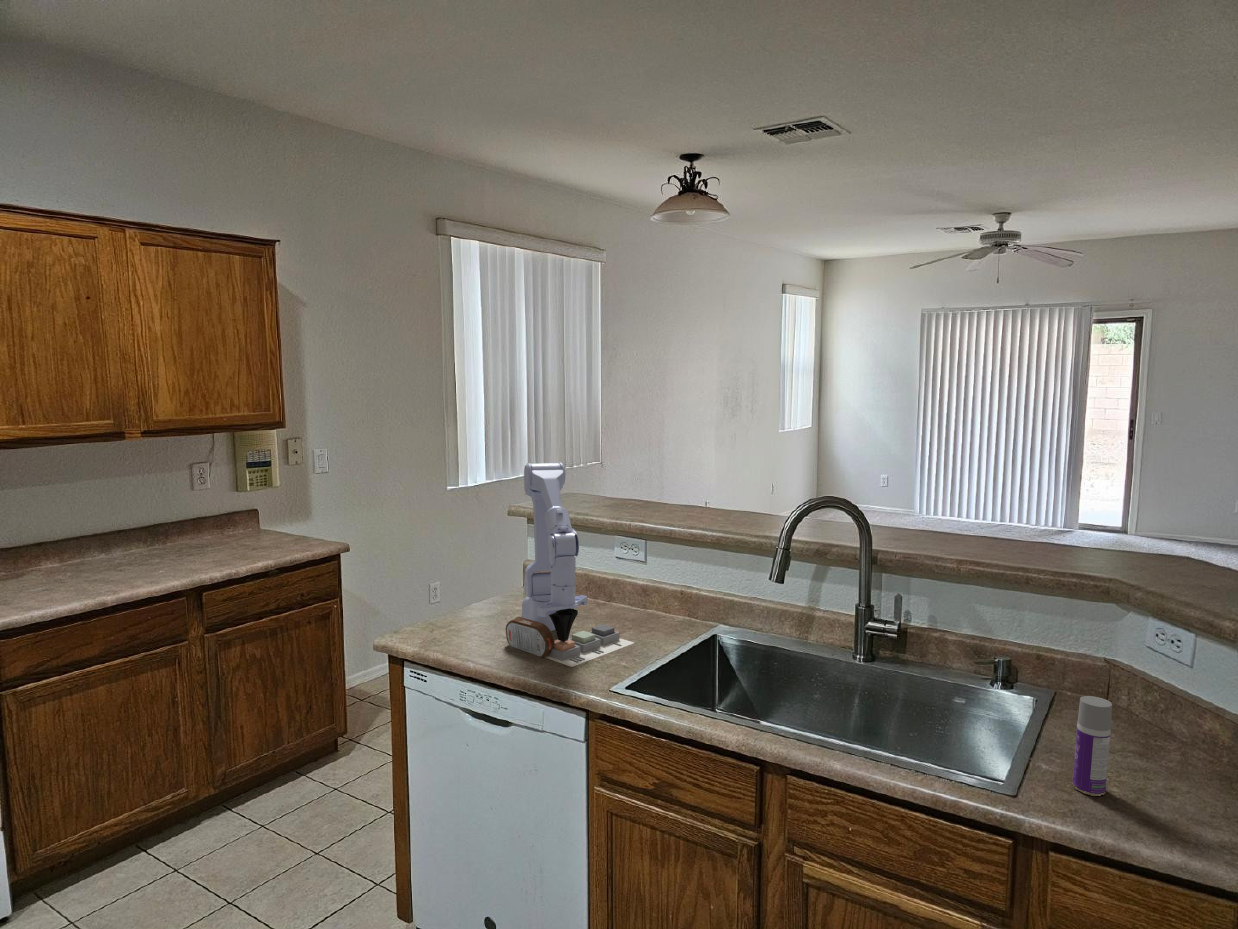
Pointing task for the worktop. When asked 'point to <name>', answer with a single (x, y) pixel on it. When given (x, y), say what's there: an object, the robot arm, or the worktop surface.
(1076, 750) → the container
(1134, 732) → the worktop surface
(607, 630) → the key one
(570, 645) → the key three
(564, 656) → the keypad
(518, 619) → the tin
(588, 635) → the key two
